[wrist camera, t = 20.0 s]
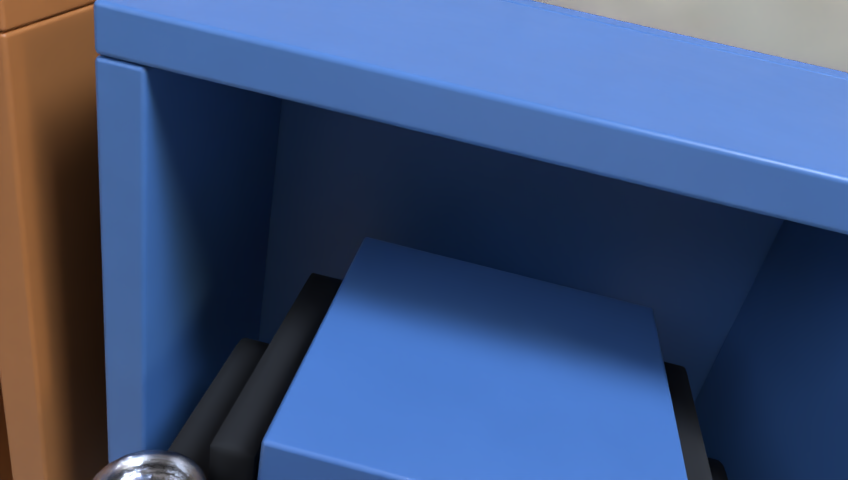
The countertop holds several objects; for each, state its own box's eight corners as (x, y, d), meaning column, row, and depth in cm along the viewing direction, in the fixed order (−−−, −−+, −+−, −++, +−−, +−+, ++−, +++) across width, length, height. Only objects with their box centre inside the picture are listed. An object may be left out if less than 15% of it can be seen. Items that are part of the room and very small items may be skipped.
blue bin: (273, -60, 12) (88, -2, 8) (875, 78, 12) (1094, 236, 7) (234, 422, 18) (113, 636, 13) (645, 532, 17) (679, 798, 12)
